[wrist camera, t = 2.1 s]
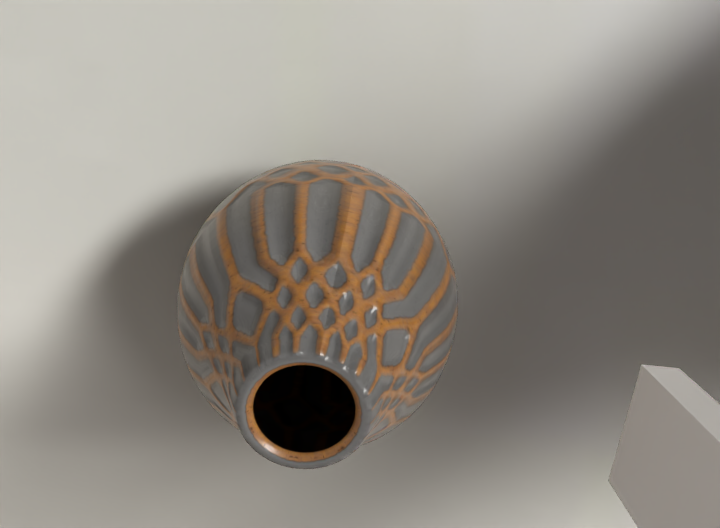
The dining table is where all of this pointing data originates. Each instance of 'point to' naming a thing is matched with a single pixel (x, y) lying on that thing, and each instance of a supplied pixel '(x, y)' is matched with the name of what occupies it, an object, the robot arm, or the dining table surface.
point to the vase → (316, 310)
